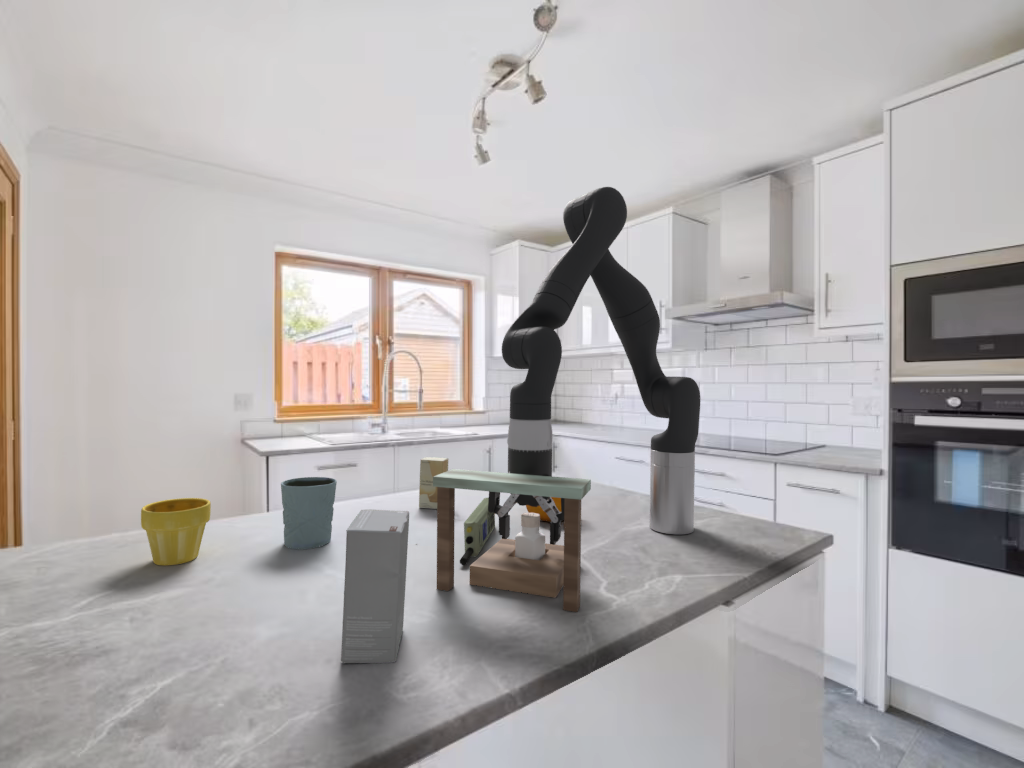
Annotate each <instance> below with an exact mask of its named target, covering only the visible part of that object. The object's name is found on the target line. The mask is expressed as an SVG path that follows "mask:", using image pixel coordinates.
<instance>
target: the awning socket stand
mask: <svg viewBox="0 0 1024 768" xmlns="http://www.w3.org/2000/svg"><path fill="white" fill-rule="evenodd" d="M591 484H592V480H591V478H590V479H589V478H576V477H575V478H574V477H560V476H552V477H551V476H538V475H525V474H512V473H508V472H498V471H497V472H496V471H486V470H485V471H484V470H471V469H469V470H468V469H458V468H452V469H450V470H449V469H448V471H447V472H444V473H441V474H439V475H436V476H433V486H434V487H437V509H436V511H437V512H436V516H437V517H436V590H437V589H439V590H438V591H443V590H445V592H449V591H451V590H452V589H453V588H454V587H455V516H456V515H455V514H456V513H455V512H456V511H455V509H456V508H455V506H456V505H455V504H456V503H455V501H456V498H455V497H456V493H455V492H456V489H459V490H470V491H480V492H489V491H490V492H500V494H501V493H503V494H510V493H512V494H523V495H535V496H546V497H557V498H565V503H564V520H563V523H564V524H563V525H564V526H563V545H561V544H555V545H551V544H550V543H546V542H545V555H544V557H543V558H542V559H541V560H533V559H526V558H518V557H515V539H512V538H507V539H502V538H500V539H499V540H498V541H497V542H496V543H495V544H493V545H492V546H491V547H490V548H489V549H488V550H487V551H485V552H484V553H483V554H482V555H480V556H479V557H478V558H477V559H476V560H475V561H474V562H472V563H471V564H470V565H469V586H470V585H472V586H476V585H477V587H482V586H483V588H489V587H492V588H491V589H495V588H496V590H504V591H508V590H509V592H516V593H521V592H522V594H527V593H528V595H535V596H541V597H549V598H557V596H558V595H559V594H560V592H561V590H562V588H563V592H562V593H563V594H562V595H563V601H562V603H563V604H562V606H563V607H562V608H563V609H562V610H563V611H568V612H573V613H578V612H579V609H580V607H581V567H582V566H581V560H582V558H581V557H582V554H581V553H582V551H581V550H582V500H583V499H584V498H585V496H586V495H587V494H588V493H589V492H590V491H591V490H592V489H591V487H592V485H591ZM484 586H485V587H484ZM452 587H453V588H452Z"/></svg>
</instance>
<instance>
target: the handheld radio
mask: <svg viewBox="0 0 1024 768" xmlns="http://www.w3.org/2000/svg"><path fill="white" fill-rule="evenodd" d="M488 500H489V497H484V498H483V499H482V500H481V502H480V503H478V505H477V506H476V507H475V508H474V509H473V511H472V512H471V514H469V516H468V517H467V518H466V520H465V521H464V523H463V530H464V531H463V534H464V535H463V539H464V552H463V555H462V556H461V558H460V559H459V564H460V565H462V566H465V565H467V563H468V562H469V560H470V559H471V557H474V556H476V557H478V555H479V554H480V553H481V551H482V549H483V547H484V545H485V544H486V543H487V541H488V539H489V538H490V535H491V534H492V532H493V530H494V529H495V527H496V516H495V515H496V514H495V513H493V512H492V513H490V512H489V511H488Z"/></svg>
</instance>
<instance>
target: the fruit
mask: <svg viewBox="0 0 1024 768" xmlns="http://www.w3.org/2000/svg"><path fill="white" fill-rule="evenodd" d="M551 498H552V500H553V501H554V503H555V506H556V507H557V509H558V510H559V512H561V498H557V497H551ZM548 501H549V500H548ZM525 508H526V510H527V513H537V514H539V515H540V522H542V521H543V522H549V523H551V522H552V521H551V519H550V518H549V516H548V515H547V513H546V512H544V511H543V509H542V508H541V506H537V507H532V506H529V505H525Z"/></svg>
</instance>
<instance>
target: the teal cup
mask: <svg viewBox="0 0 1024 768" xmlns="http://www.w3.org/2000/svg"><path fill="white" fill-rule="evenodd" d="M336 489H337V479H335V478H332V477H326V476H321V477H320V476H311V477H310V476H307V477H297V478H291V479H286V480H283V481H282V482H280V491H281V492H280V493H281V504H282V509H283V510H282V521H283V523H282V524H283V525H284V527H283V542H284V543H283V544H284V546H285V547H286V548H287V549H291V550H309V548H311V549H316V548H315V547H317V548H320V547H323V546H326V545H327V543H328V544H329V543H330V542H331V540H332V531H333V527H332V526H333V525H332V522H333V519H334V511H335V509H334V505H335V499H336V492H337V490H336ZM325 544H326V545H325ZM322 545H323V546H322ZM319 546H320V547H319Z"/></svg>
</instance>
